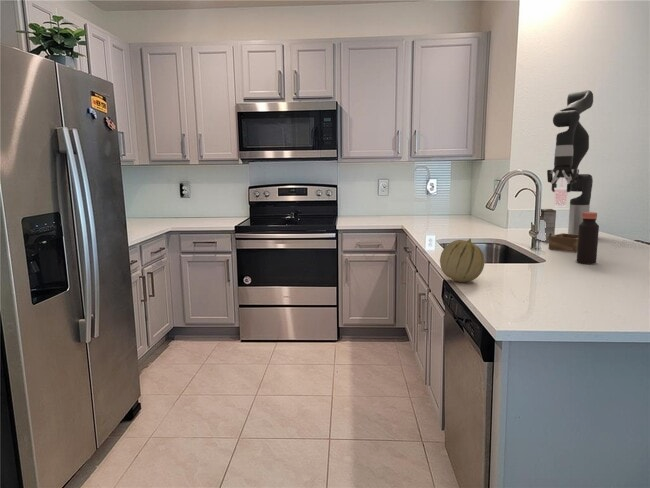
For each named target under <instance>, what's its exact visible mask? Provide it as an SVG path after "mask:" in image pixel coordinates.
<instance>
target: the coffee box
mask: <svg viewBox="0 0 650 488" xmlns="http://www.w3.org/2000/svg"><path fill="white" fill-rule="evenodd" d="M540 209H541V216H540V220H544V221H545V222H546V228H545V233H546V240H545V241H544V242H546V243H547V242H548V243H549V236H552V235H556V234H555V232H556V218H557V210H555V209H553V208H540Z"/></svg>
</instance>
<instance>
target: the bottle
mask: <svg viewBox="0 0 650 488" xmlns="http://www.w3.org/2000/svg"><path fill="white" fill-rule="evenodd" d="M582 218H583V222H582V223H581V224H580V225H579V232H578V246H577V252H576V259H575V261H576V262H577V263H578V264H583V265H594V264H596V263H597V256H598V255H597V254H598V246H599V245H598V243H599V232H600V231H599V230H600V226H599V224H598V223H597V222H596V221H597V218H598V213H597V212H592V211H589V212H583V214H582Z"/></svg>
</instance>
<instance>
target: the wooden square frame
mask: <svg viewBox="0 0 650 488" xmlns="http://www.w3.org/2000/svg"><path fill="white" fill-rule="evenodd" d="M577 246H578V235H575V234H568V233H565V232H564V233H557V234H555V235H552V236H549V242H548V250H556V251H562V252H571V253H577Z"/></svg>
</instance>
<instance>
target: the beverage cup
mask: <svg viewBox="0 0 650 488" xmlns="http://www.w3.org/2000/svg"><path fill="white" fill-rule="evenodd" d="M563 179H564V178H561V183H560V187H559V186H558V187H557V188H554V190H555V192H554V207H555V208H566V206H567V200H568V193H569V192H567V187H563V182H564V181H563Z"/></svg>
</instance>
